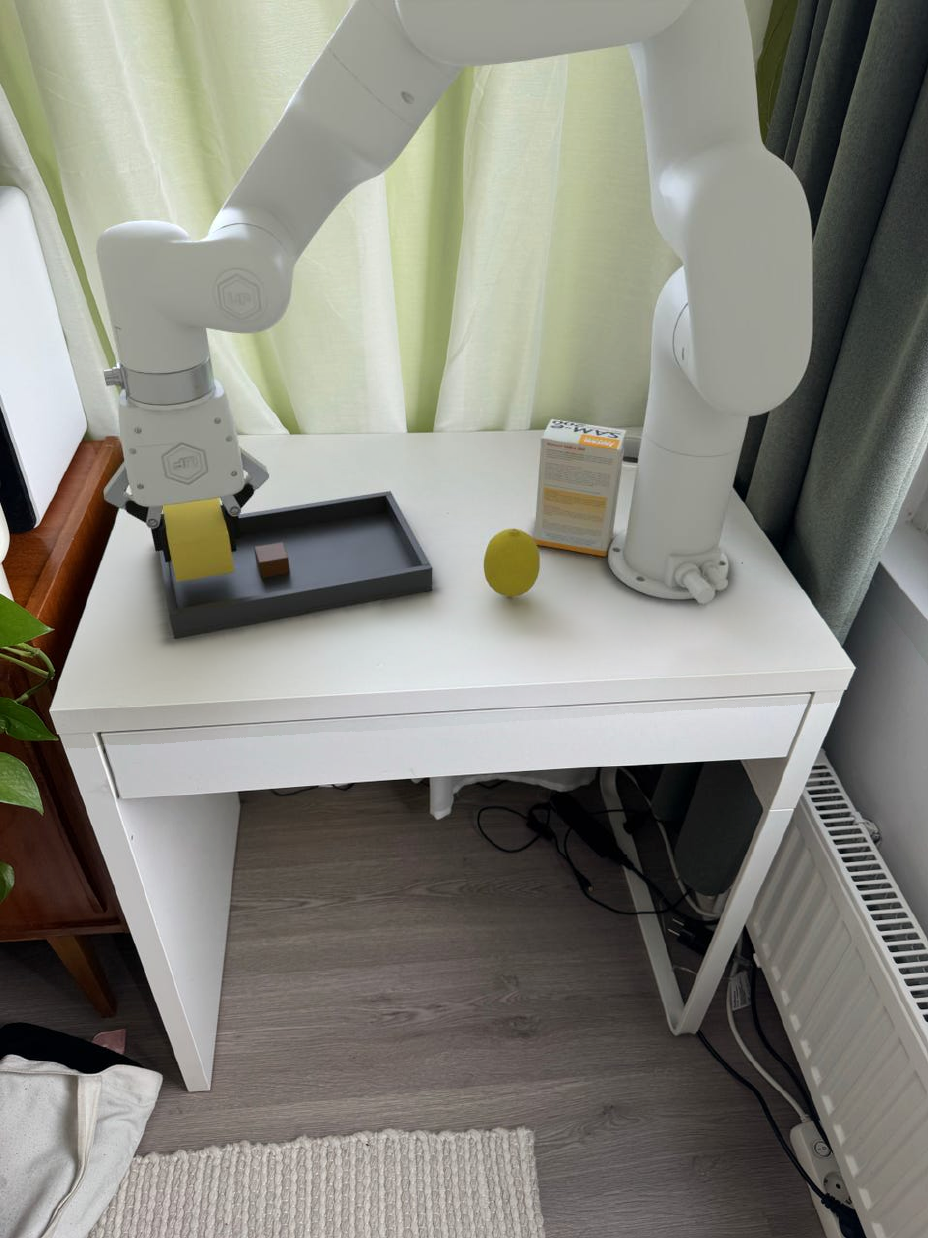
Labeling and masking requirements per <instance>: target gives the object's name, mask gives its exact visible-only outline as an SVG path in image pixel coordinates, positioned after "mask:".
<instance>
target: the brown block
mask: <svg viewBox="0 0 928 1238" xmlns="http://www.w3.org/2000/svg"><path fill="white" fill-rule="evenodd" d="M254 550H255V557H256V563H257V567H258V570H259V573H260V577H261V578H266V577H272V576H278V575H283V574H289V573H290V567H289V559H288V555H287V552H286V549H285V547H284V544H283V542H281V543H275V544H269V545H263V546H257V547H254Z"/></svg>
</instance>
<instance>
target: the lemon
mask: <svg viewBox="0 0 928 1238" xmlns="http://www.w3.org/2000/svg"><path fill="white" fill-rule="evenodd" d="M539 551H540V550H539V548H538V545H536V543H535V541H534V538H533V537H532V536H531V535H530V534H528V533H527V532H526V531H525V530H522V529H518V528H508V529H504V530H501V531H499V532H498V533H496V534H495V535H494V536H493V537H492V538H491V539H490V541H489V542H488V545H487V546H486V550H485V552H484V553H485V554H484V558H483V572H484V576H485V580H486V582H487V584H488V585H489V587H490V588H491V589H492V590H493V591H494V592H496V593H497V594H499V595H500V596H504V597H508V598H514V597H518V596H522V595H524V594H526V593H527V592H528V591H530V590H531V588H532V587H533V586H535V583H536V581H537V579H538V577H539V574H540V567H541V558H540V552H539Z"/></svg>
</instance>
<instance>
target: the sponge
mask: <svg viewBox="0 0 928 1238" xmlns="http://www.w3.org/2000/svg"><path fill="white" fill-rule="evenodd" d="M221 505H222V503H221V499H220V498H215V499H208V500H202V501H195V502H188V503H181V504H174V505H167V506H163V509H162V514H164V518H165V524H166V533H167V539H168V544H169V549H170V554H171V559H172V564H173V568H174V573H175V578H176V582H180V581H186V580H192V579H198V578H204V577H210V576H216V575H222V574H228V573H234V566H233V559H232V553H231V546H230V540H229V534H228V530H227V526H226V522H225V520H224V517H223V513H222V509H221Z"/></svg>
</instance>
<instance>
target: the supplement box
mask: <svg viewBox="0 0 928 1238" xmlns="http://www.w3.org/2000/svg"><path fill="white" fill-rule="evenodd" d="M626 438H627V430H626V429H621V428H614V427H607V426H600V425H595V424H586V423H580V422H575V421H574V422H573V421H567V420H561V419H553V418H551V419H550V420H549V422H548V424H547V426H546V428H545V429H544V432H543V434H542V435H541V438H540V451H539V465H538V477H537V479H538V480H537V490H536V491H537V493H536V505H535V507H536V508H535V520H534V521H535V522H534V538H533V539H534V541H535V543H536V545H537V546H542V547H543V546H544V547H548V548H553V549H559V550H566V551H572V552H577V553H582V554H589V555H593V556H599V557H605V558H606V557H607V556H608V552H609V547H610V544H611V542H612V540H613V535H614V528H615V522H616V515H617V514H616V513H617V505H618V498H619V491H620V484H621V476H622V469H623V462H624V454H625V446H626Z"/></svg>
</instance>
